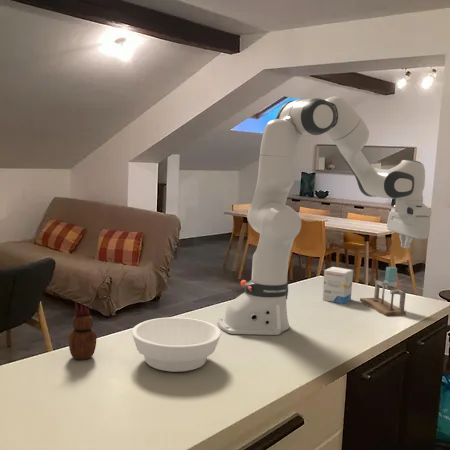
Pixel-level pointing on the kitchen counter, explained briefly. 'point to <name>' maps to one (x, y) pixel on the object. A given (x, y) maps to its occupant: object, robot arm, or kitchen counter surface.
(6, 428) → the kitchen counter surface
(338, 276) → the ink box
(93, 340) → the wooden figurine
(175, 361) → the bowl
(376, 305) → the board
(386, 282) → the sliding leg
